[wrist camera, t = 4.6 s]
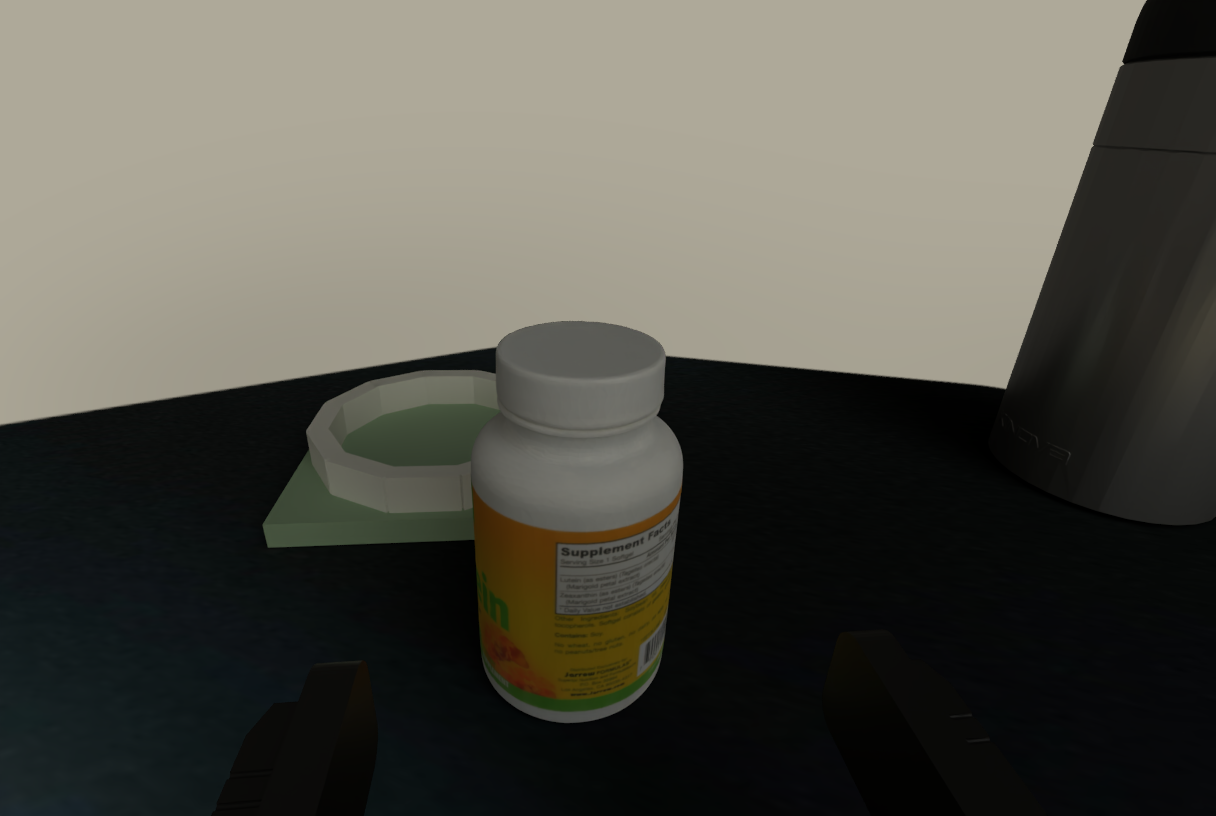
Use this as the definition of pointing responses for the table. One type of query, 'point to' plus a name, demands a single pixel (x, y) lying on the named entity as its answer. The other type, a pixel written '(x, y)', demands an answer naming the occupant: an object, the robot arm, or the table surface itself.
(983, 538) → the table surface
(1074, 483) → the robot arm
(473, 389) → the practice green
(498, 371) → the supplement bottle
